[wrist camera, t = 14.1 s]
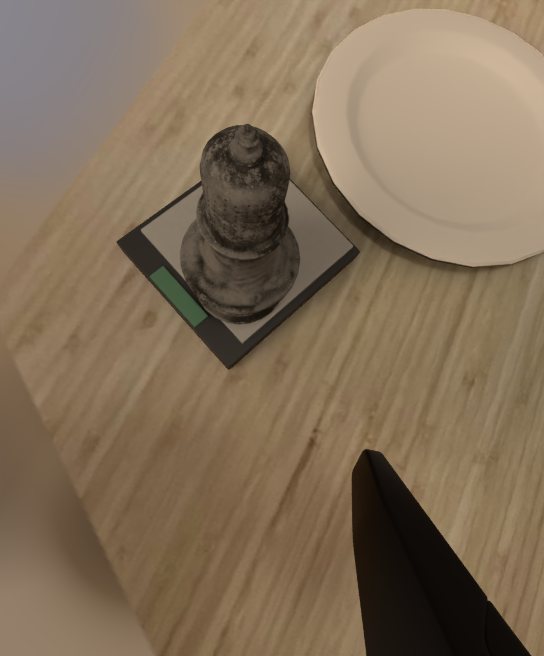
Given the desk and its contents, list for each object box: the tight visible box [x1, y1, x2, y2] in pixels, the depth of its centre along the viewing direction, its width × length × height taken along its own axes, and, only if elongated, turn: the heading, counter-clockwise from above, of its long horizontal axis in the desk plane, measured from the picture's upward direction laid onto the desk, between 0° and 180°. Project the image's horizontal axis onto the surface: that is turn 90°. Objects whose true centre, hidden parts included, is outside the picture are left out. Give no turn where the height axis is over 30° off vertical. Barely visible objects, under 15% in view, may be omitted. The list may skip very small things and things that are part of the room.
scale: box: [117, 180, 360, 370], centre depth 22 cm, size 11×10×2 cm
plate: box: [312, 9, 544, 268], centre depth 26 cm, size 21×21×2 cm
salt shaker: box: [180, 124, 300, 324], centre depth 15 cm, size 6×6×12 cm
